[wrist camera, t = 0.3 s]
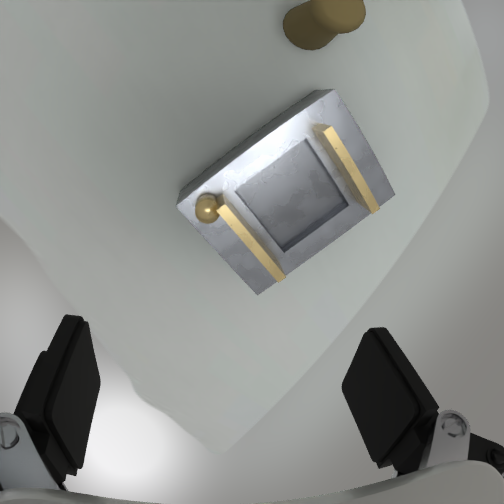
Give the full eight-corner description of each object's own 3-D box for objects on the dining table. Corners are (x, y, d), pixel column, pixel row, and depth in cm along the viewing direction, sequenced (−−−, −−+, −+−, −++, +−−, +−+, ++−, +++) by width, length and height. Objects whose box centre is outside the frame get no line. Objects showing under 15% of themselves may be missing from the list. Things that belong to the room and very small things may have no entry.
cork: (342, 32, 31) (387, 14, 21) (307, 59, 32) (345, 46, 23) (308, -4, 29) (343, -35, 19) (272, 23, 30) (297, -4, 20)
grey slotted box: (316, 90, 34) (349, 88, 26) (372, 181, 40) (411, 204, 32) (180, 190, 37) (172, 218, 29) (250, 270, 43) (262, 313, 35)
